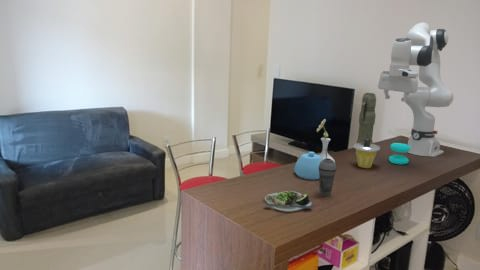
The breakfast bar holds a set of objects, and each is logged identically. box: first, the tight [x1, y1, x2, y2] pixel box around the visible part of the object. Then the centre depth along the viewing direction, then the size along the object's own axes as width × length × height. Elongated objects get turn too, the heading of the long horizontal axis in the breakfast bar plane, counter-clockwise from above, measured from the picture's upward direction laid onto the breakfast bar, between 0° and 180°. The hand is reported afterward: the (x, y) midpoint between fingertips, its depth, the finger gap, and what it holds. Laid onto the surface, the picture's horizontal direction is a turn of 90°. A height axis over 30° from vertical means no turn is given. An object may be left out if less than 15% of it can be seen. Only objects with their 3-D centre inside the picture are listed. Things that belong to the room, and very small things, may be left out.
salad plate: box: [264, 190, 314, 213], centre depth 142 cm, size 19×18×5 cm
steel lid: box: [353, 138, 381, 153], centre depth 187 cm, size 13×13×5 cm
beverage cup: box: [318, 147, 337, 197], centre depth 151 cm, size 7×7×20 cm
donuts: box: [388, 142, 410, 166], centre depth 197 cm, size 10×10×10 cm
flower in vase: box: [316, 118, 336, 163], centre depth 188 cm, size 13×11×25 cm
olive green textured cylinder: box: [356, 92, 377, 144], centre depth 212 cm, size 9×12×35 cm
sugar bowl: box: [293, 151, 322, 181], centre depth 174 cm, size 15×15×12 cm
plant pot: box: [355, 149, 378, 169], centre depth 189 cm, size 10×10×10 cm
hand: (395, 100), depth 182 cm, fingers open, 8 cm apart
